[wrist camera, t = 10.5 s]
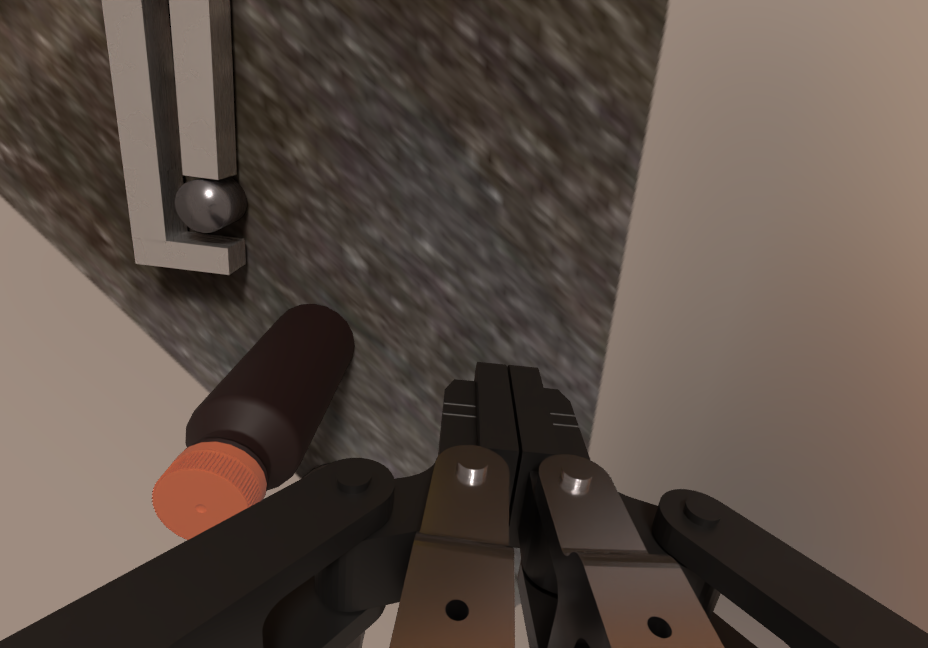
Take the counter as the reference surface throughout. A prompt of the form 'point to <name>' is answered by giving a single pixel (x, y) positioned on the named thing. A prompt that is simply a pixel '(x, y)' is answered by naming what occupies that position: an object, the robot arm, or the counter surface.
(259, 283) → the counter surface
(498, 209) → the counter surface
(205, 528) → the bottle
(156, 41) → the tongs fixed leg
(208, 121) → the leg
